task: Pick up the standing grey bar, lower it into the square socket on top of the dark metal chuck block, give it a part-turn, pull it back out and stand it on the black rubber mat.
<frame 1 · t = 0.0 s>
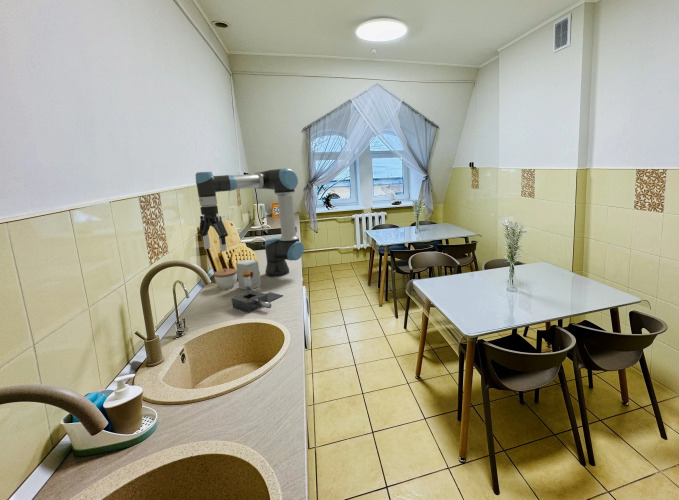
hand: (215, 249, 156), 28 cm above the countertop, tool pointing down, fingers open, 13 cm apart
chuck block: (250, 305, 158), on the countertop
supplement box: (250, 287, 186), on the countertop
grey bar: (249, 296, 171), on the countertop
mat: (269, 297, 168), on the countertop
lidded bowl: (227, 287, 189), on the countertop
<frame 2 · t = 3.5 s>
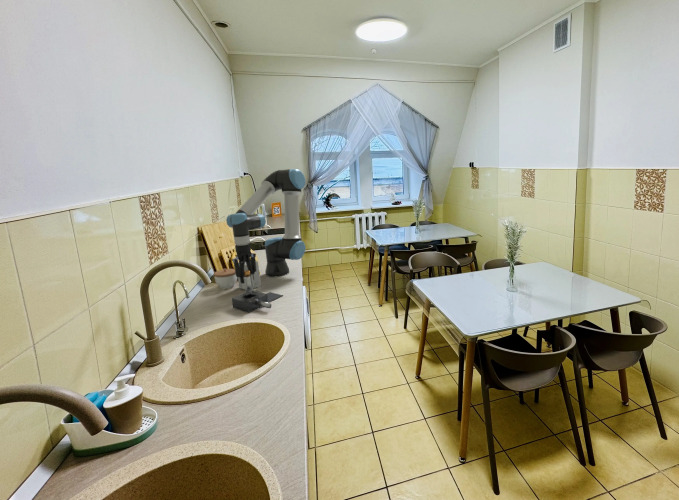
hand: (248, 287, 170), 5 cm above the countertop, tool pointing down, fingers closed on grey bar, 4 cm apart
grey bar: (249, 296, 171), on the countertop, touching gripper
everything else where it was.
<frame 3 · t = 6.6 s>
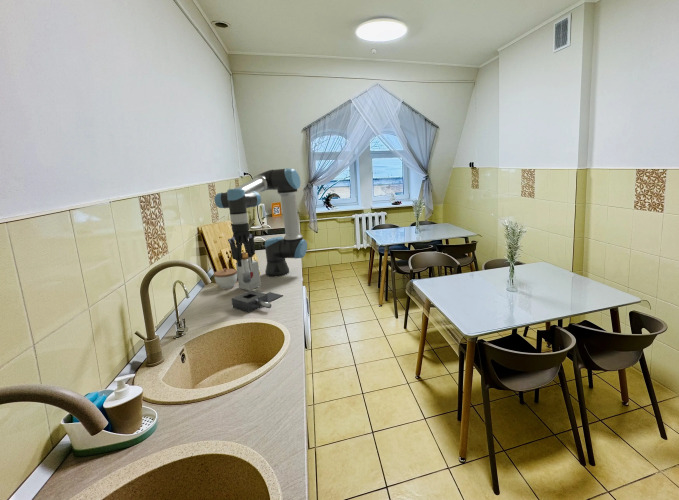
hand: (246, 271, 154), 18 cm above the countertop, tool pointing down, fingers closed on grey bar, 4 cm apart
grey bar: (247, 281, 155), point 13 cm above the countertop, touching gripper
everything else where it was.
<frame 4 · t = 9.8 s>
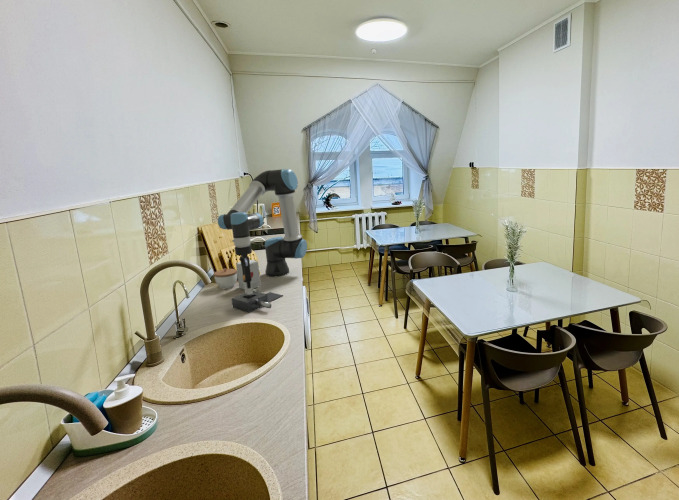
hand: (249, 292, 157), 7 cm above the countertop, tool pointing down, fingers closed on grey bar, 4 cm apart
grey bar: (250, 302, 158), point 2 cm above the countertop, touching gripper
everything else where it was.
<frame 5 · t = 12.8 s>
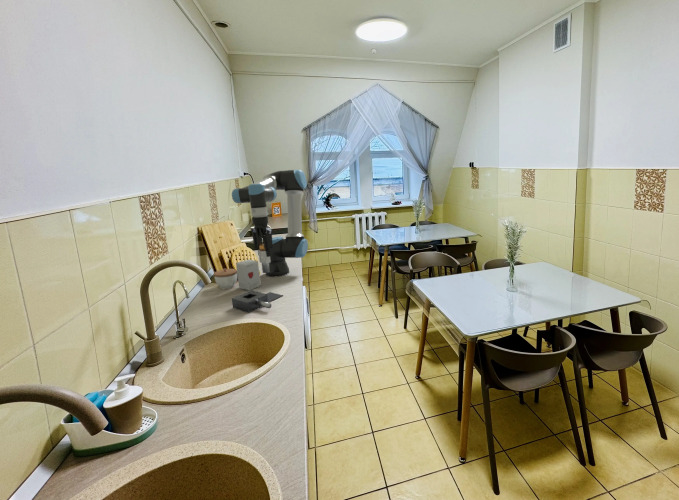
hand: (265, 262, 163), 19 cm above the countertop, tool pointing down, fingers closed on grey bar, 4 cm apart
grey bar: (266, 271, 164), point 14 cm above the countertop, touching gripper
everything else where it was.
when the fingers open (6 cm above the countertop, at t = 15.9 s): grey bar stays where it is, resting on mat.
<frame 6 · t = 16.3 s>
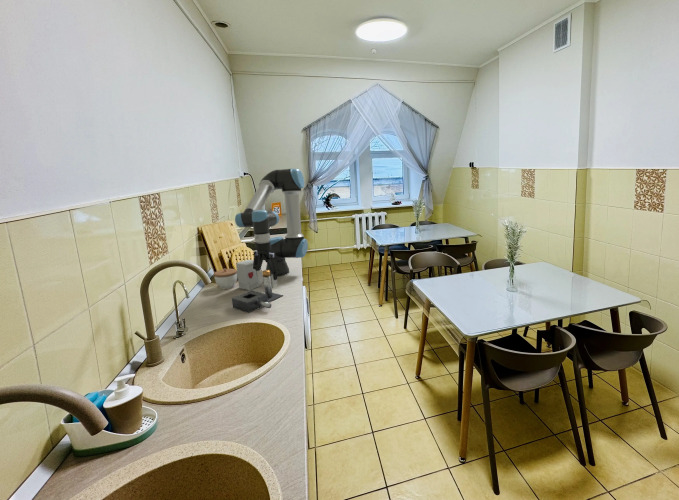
hand: (267, 284, 166), 7 cm above the countertop, tool pointing down, fingers open, 10 cm apart
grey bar: (269, 296, 168), resting on mat
everything else where it was.
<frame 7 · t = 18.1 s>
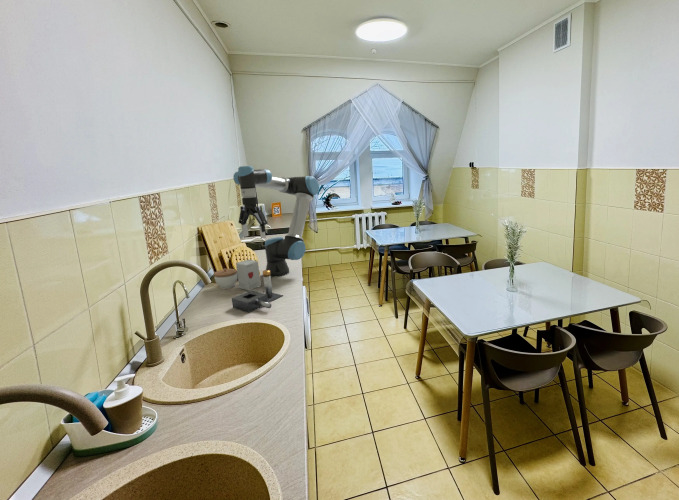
hand: (254, 237, 172), 30 cm above the countertop, tool pointing down, fingers open, 13 cm apart
nothing on the countertop moved.
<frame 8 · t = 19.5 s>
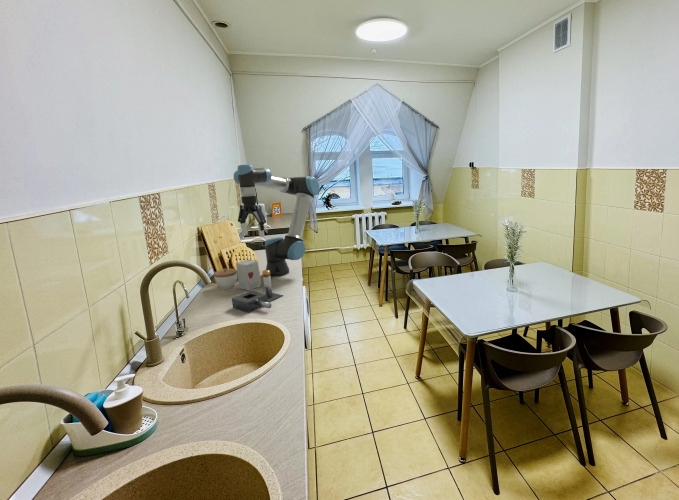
hand: (253, 235, 172), 31 cm above the countertop, tool pointing down, fingers open, 13 cm apart
nothing on the countertop moved.
at the end: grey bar inside the target area on the mat (0.0 cm from its centre), point 0.4 cm above the mat's base; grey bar tilted 0°; the gripper is holding nothing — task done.
